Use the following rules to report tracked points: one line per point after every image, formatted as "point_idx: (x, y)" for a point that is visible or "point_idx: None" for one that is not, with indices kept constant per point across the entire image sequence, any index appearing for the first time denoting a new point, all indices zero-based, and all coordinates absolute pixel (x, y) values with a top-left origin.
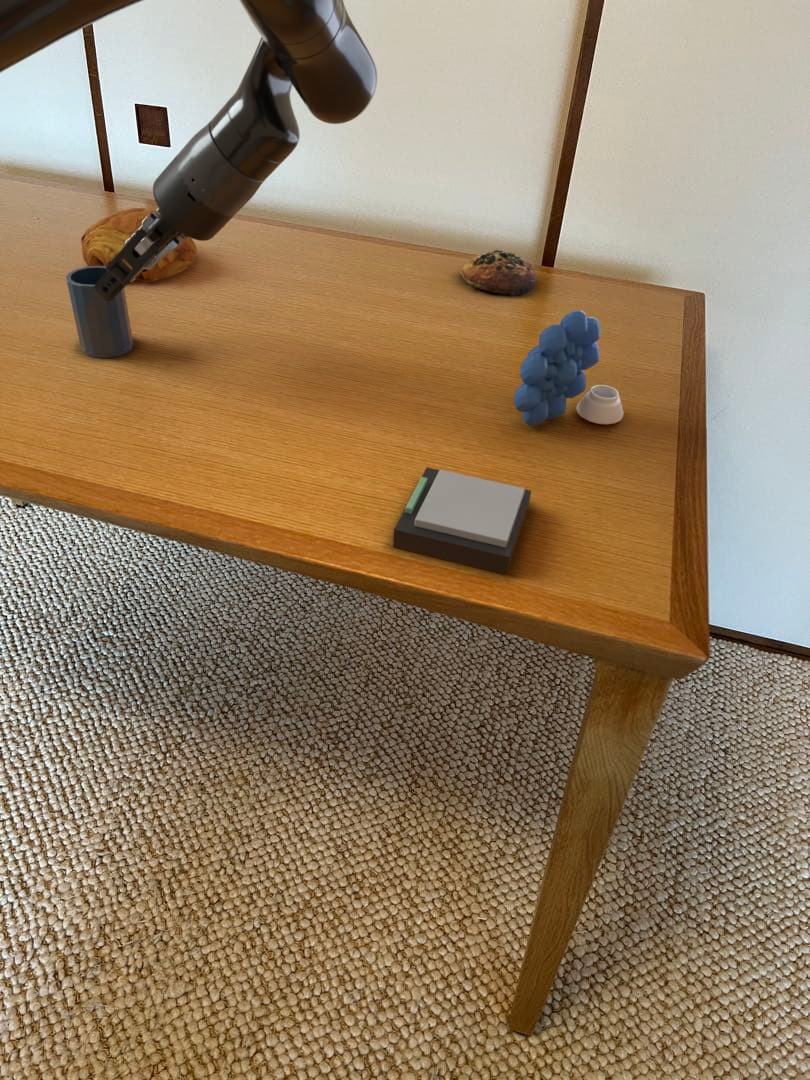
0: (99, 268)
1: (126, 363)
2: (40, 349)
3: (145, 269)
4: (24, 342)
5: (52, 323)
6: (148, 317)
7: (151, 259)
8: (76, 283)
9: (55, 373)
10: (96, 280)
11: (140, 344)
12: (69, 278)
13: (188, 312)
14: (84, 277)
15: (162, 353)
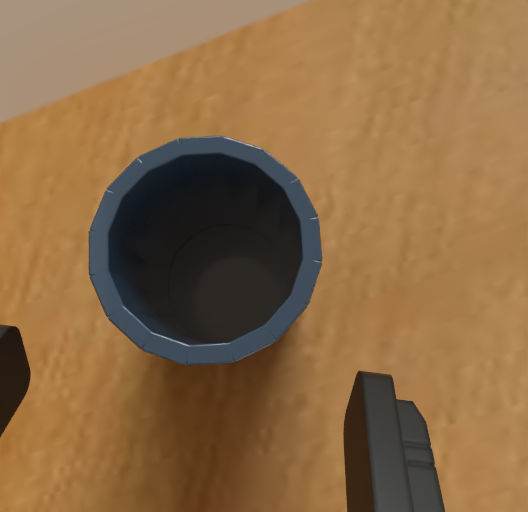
0: (300, 236)
1: (140, 367)
2: (188, 124)
3: (344, 439)
4: (220, 73)
5: (341, 97)
6: (439, 337)
7: (349, 496)
8: (109, 205)
9: (64, 207)
10: (292, 227)
11: (260, 369)
12: (156, 159)
13: (505, 450)
14: (266, 187)
15: (214, 450)
